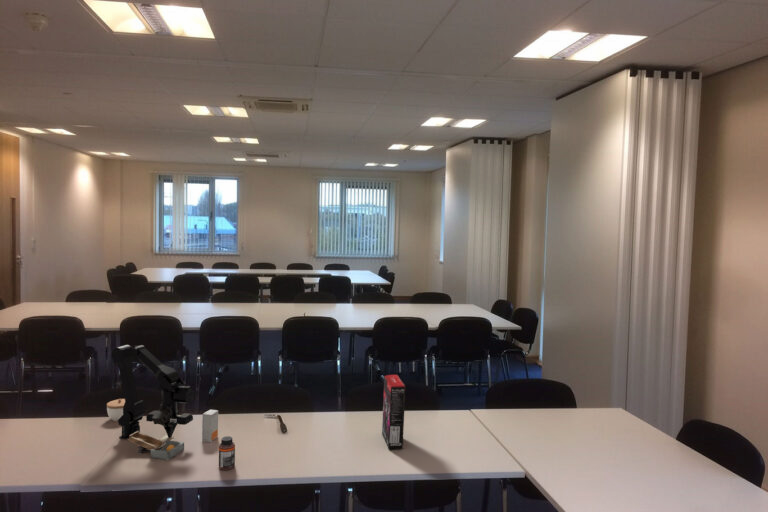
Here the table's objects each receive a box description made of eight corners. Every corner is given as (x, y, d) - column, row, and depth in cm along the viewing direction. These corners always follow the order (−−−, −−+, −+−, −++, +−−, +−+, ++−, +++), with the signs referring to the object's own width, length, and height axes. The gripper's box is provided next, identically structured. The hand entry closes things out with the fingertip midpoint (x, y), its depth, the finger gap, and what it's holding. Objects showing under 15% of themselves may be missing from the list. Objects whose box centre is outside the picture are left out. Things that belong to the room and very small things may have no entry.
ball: (172, 453, 203) (166, 455, 204) (177, 450, 206) (171, 452, 207) (170, 445, 203) (163, 447, 204) (175, 442, 206) (168, 444, 207)
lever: (128, 440, 207) (129, 435, 206) (149, 428, 219) (150, 423, 219) (153, 451, 204) (154, 445, 204) (173, 438, 217) (174, 433, 217)
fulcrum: (138, 453, 205) (138, 447, 205) (148, 447, 211) (148, 441, 211) (141, 453, 205) (141, 447, 205) (151, 447, 211) (151, 441, 211)
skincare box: (211, 442, 217) (211, 414, 216) (201, 441, 218) (202, 413, 217) (218, 437, 223) (218, 410, 222) (209, 436, 224) (209, 409, 223)
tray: (150, 457, 202) (150, 450, 201) (166, 447, 211) (166, 440, 211) (168, 460, 200) (168, 452, 200) (184, 449, 210) (184, 442, 209)
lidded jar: (125, 423, 235) (125, 403, 235) (101, 422, 236) (101, 402, 235) (136, 414, 246) (136, 395, 246) (114, 414, 246) (114, 395, 246)
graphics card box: (381, 434, 231) (382, 374, 229) (396, 433, 232) (397, 374, 230) (388, 450, 214) (390, 386, 212) (404, 449, 215) (406, 385, 214)
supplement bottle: (220, 463, 198) (220, 434, 197) (236, 463, 199) (236, 434, 198) (216, 470, 192) (217, 441, 192) (233, 470, 193) (233, 441, 192)
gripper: (136, 405, 209) (137, 443, 210) (177, 409, 205) (177, 447, 205) (154, 396, 220) (155, 432, 221) (193, 400, 216) (194, 436, 216)
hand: (170, 437), depth 215 cm, fingers closed, pressing on lever
